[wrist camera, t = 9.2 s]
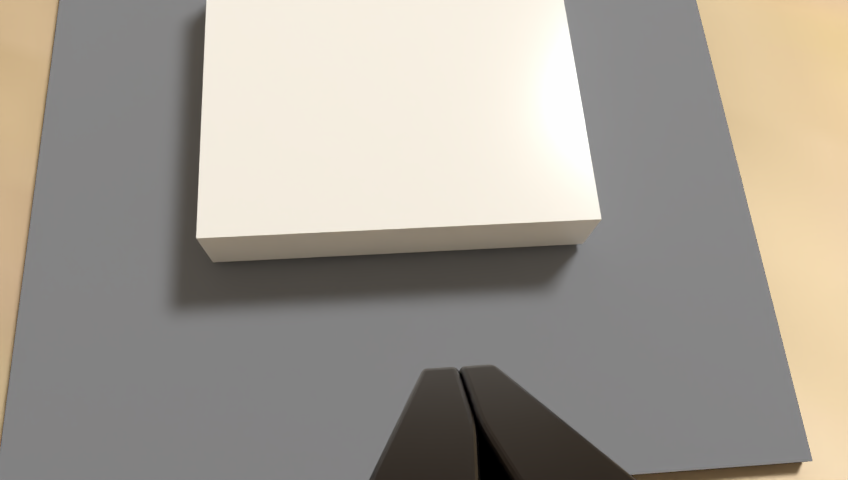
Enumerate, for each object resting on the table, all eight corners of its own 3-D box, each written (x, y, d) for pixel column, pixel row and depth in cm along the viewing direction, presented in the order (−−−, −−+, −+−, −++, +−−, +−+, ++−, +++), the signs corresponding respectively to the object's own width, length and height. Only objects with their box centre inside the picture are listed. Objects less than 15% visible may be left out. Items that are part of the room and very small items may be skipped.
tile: (602, 219, 18) (552, -62, 21) (196, 237, 17) (209, -57, 20) (580, 246, 20) (538, -16, 23) (214, 264, 19) (223, -9, 22)
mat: (803, 461, 18) (812, 461, 18) (-1, 522, 17) (-10, 523, 16) (658, -122, 25) (662, -132, 25) (81, -117, 24) (76, -127, 23)
